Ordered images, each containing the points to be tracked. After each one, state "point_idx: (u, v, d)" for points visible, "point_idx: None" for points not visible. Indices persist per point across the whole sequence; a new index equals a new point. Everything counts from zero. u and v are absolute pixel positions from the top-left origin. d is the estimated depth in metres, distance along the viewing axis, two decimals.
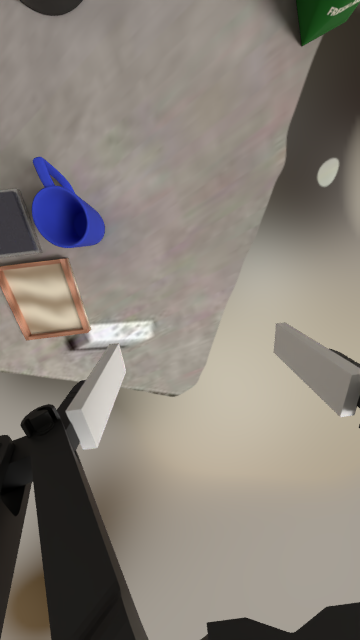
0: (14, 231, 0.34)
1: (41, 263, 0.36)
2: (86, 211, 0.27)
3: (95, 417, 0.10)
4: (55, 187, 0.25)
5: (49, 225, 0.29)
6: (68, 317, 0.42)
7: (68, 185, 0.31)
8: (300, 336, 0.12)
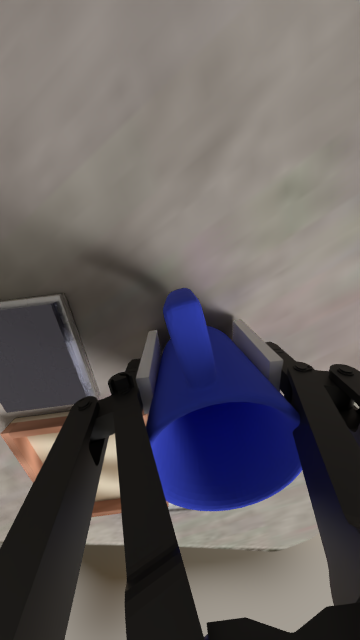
0: (50, 374, 0.16)
1: None
2: None
3: (154, 387, 0.11)
4: (239, 401, 0.07)
5: (162, 433, 0.11)
6: None
7: None
8: (246, 331, 0.14)
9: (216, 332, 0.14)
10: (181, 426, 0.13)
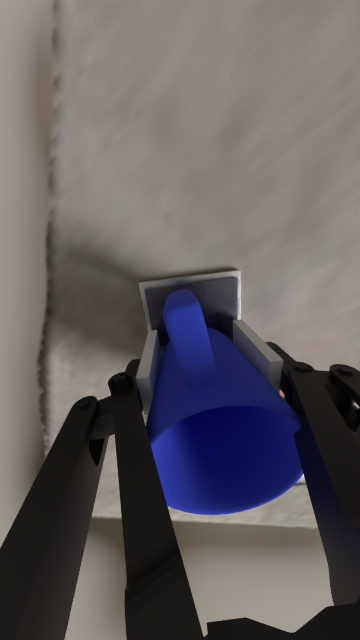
0: None
1: None
2: None
3: (154, 387, 0.11)
4: (240, 405, 0.07)
5: (161, 436, 0.11)
6: None
7: None
8: (247, 331, 0.14)
9: (216, 333, 0.14)
10: (181, 428, 0.13)
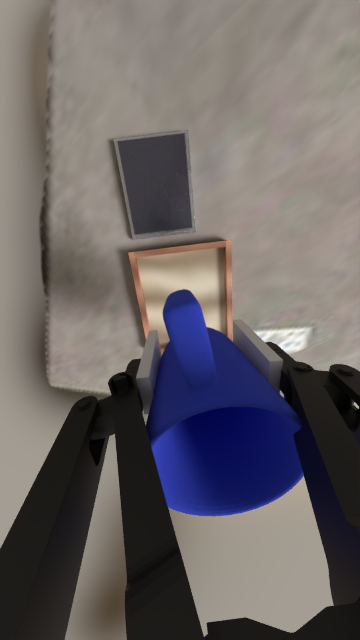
0: (171, 198, 0.23)
1: (199, 247, 0.25)
2: None
3: (154, 387, 0.11)
4: (240, 405, 0.07)
5: (161, 436, 0.10)
6: (207, 323, 0.31)
7: None
8: (246, 331, 0.14)
9: (217, 333, 0.14)
10: (181, 429, 0.13)
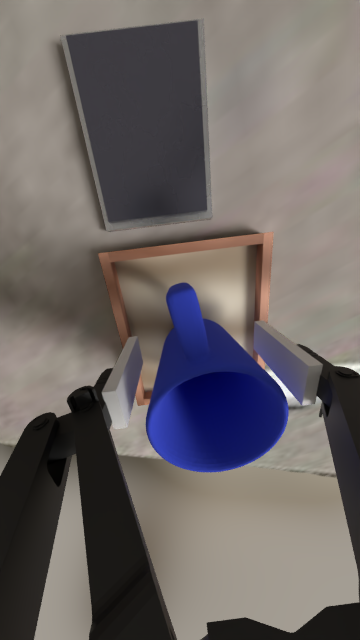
0: (172, 156, 0.13)
1: (218, 244, 0.15)
2: (287, 410, 0.10)
3: (124, 400, 0.10)
4: (227, 370, 0.09)
5: (164, 407, 0.12)
6: None
7: None
8: (273, 333, 0.13)
9: (212, 323, 0.16)
10: (181, 405, 0.15)
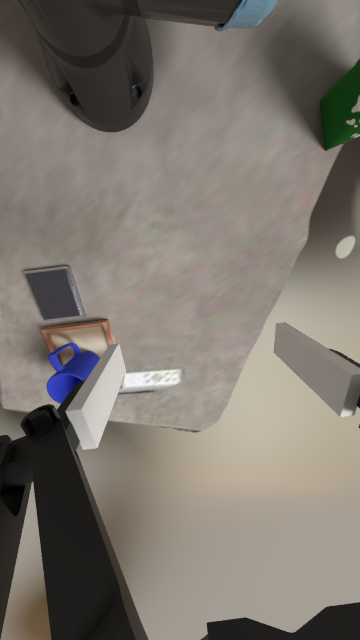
0: (63, 300, 0.38)
1: (86, 326, 0.40)
2: None
3: (95, 417, 0.10)
4: (64, 374, 0.34)
5: (59, 386, 0.38)
6: None
7: (73, 345, 0.40)
8: (300, 336, 0.12)
9: (87, 355, 0.41)
10: (71, 386, 0.40)
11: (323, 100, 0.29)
